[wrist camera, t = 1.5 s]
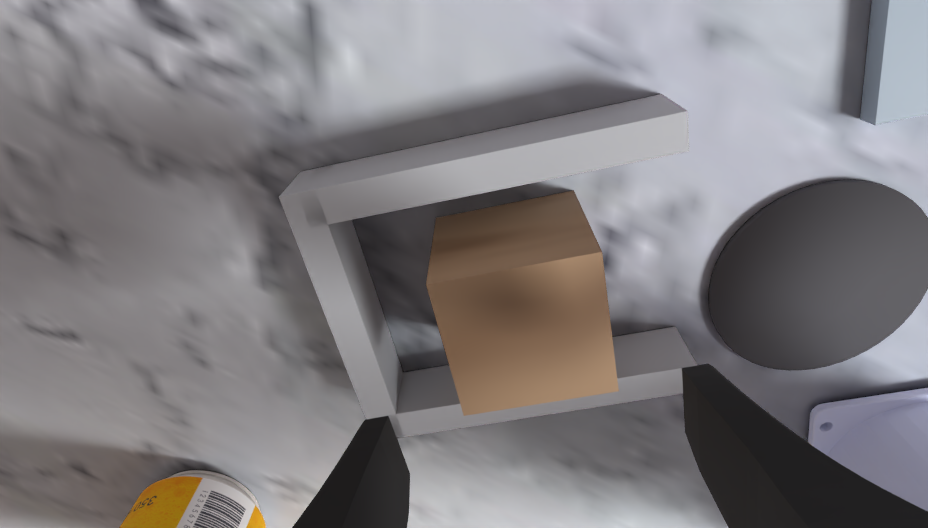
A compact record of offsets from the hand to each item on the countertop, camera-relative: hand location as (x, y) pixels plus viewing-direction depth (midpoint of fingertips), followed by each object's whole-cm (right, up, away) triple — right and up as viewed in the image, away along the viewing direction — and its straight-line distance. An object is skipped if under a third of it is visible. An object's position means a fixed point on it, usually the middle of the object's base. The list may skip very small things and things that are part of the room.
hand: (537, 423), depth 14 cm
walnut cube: (0, +4, +8) cm, 9 cm away
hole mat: (+12, +3, +8) cm, 14 cm away
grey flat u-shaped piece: (0, +4, +7) cm, 8 cm away
